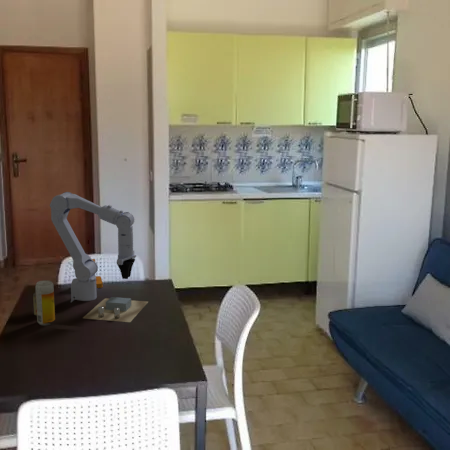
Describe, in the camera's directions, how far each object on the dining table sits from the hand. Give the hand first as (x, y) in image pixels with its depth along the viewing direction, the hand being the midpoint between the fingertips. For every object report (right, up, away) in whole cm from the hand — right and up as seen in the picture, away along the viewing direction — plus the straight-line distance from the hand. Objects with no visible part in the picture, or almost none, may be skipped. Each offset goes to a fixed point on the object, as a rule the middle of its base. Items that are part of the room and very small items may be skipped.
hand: (126, 277), depth 223 cm
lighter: (-29, -13, -11) cm, 33 cm away
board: (-2, -12, -8) cm, 15 cm away
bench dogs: (-3, -13, -16) cm, 21 cm away
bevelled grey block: (-2, -11, -7) cm, 13 cm away
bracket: (-18, -6, +22) cm, 29 cm away
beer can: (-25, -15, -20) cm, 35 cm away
